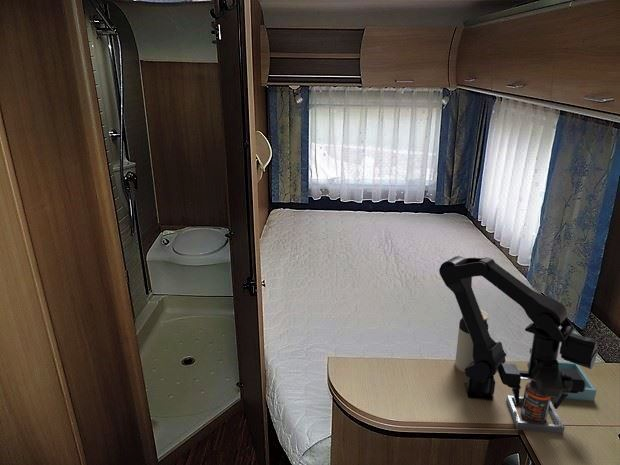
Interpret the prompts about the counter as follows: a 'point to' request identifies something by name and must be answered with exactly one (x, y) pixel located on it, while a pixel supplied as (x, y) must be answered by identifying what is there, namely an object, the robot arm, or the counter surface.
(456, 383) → the counter surface
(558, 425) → the collar
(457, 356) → the travel mug
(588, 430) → the counter surface
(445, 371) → the counter surface
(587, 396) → the bin
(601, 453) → the counter surface
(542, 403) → the supplement bottle
